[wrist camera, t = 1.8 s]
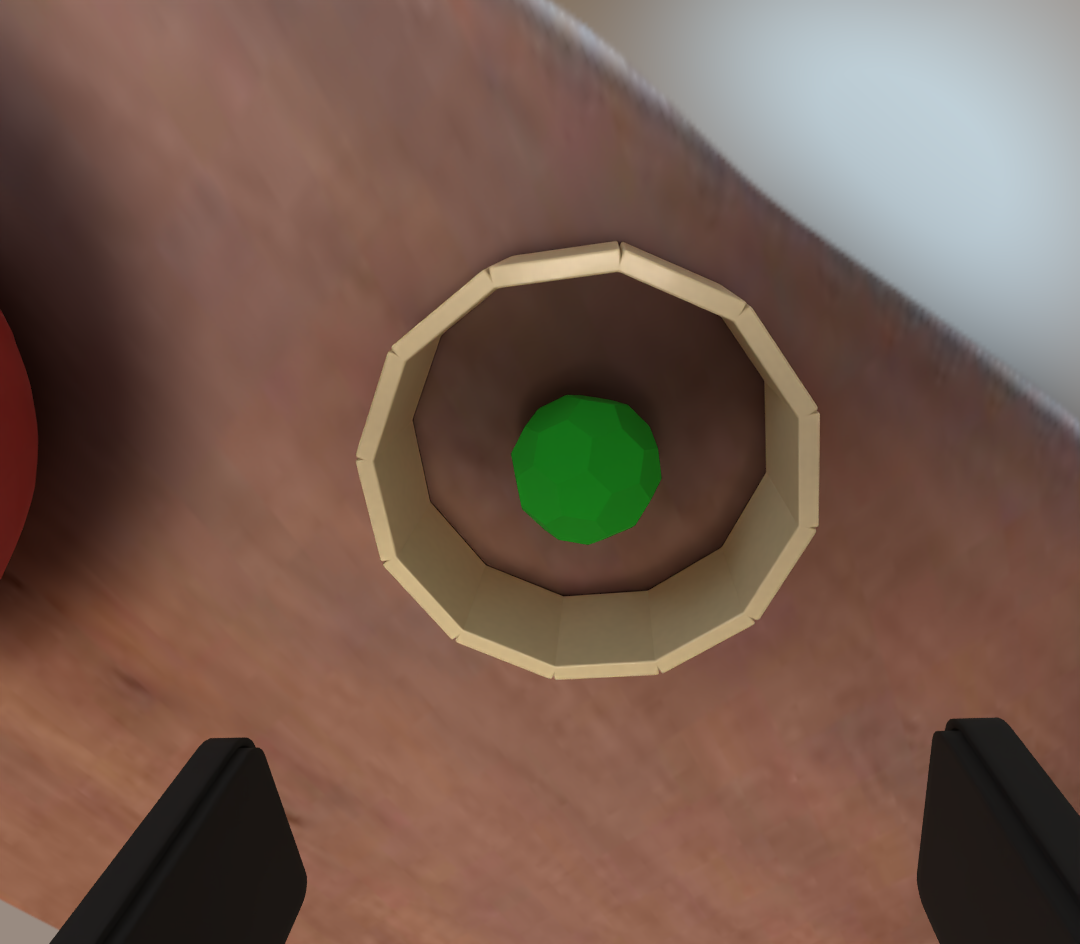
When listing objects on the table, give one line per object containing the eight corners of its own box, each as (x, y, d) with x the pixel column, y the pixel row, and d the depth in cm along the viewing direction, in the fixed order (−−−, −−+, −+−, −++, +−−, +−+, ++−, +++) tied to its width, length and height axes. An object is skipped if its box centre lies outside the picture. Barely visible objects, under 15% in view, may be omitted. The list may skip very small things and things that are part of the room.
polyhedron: (558, 525, 26) (547, 591, 21) (496, 416, 24) (471, 463, 20) (677, 473, 25) (692, 531, 20) (619, 355, 23) (622, 390, 19)
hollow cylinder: (780, 217, 21) (822, 219, 17) (784, 593, 26) (817, 667, 22) (365, 276, 23) (311, 291, 19) (441, 616, 28) (412, 687, 24)
